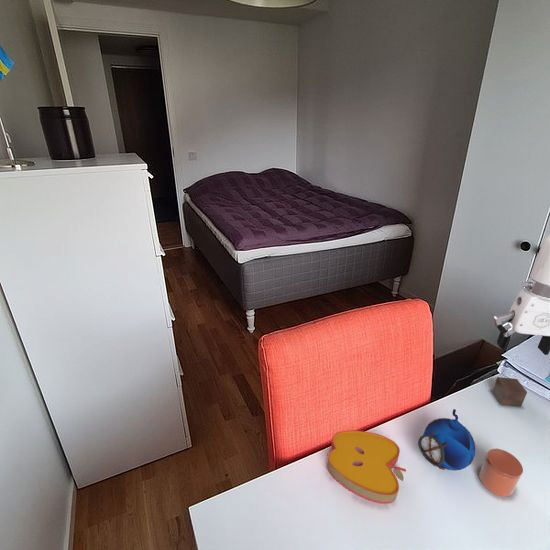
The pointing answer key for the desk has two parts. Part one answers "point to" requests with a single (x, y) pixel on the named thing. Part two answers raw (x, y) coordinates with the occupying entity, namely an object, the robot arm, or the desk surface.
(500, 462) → the terracotta pot
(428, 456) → the bomb
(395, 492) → the decorative object
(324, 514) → the desk surface
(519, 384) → the walnut block
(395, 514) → the desk surface
